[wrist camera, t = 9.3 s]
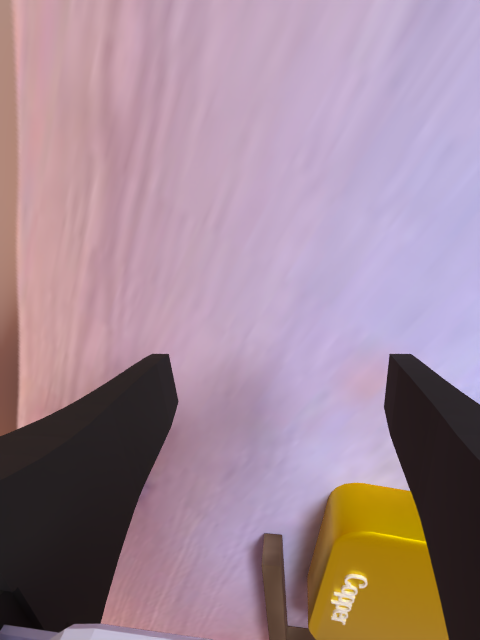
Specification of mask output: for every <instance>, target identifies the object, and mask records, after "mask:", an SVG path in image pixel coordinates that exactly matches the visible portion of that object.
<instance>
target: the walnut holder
mask: <svg viewBox="0 0 480 640" xmlns="http://www.w3.org/2000/svg"><path fill="white" fill-rule="evenodd" d="M262 573H263V583H264V592H265V602H266V611H267V621H268V631H269V640H316V639H315V638H314V637H313V635H312V634H311V633H310V631H309V629H306V628H298V627H290V626H287V609H286V592H285V575H284V559H283V542H282V535H276V534H265V533H264V543H263V554H262Z"/></svg>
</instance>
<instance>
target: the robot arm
mask: <svg viewBox="0 0 480 640" xmlns="http://www.w3.org/2000/svg"><path fill="white" fill-rule="evenodd" d="M177 405H178V398H177V393H176V388H175V383H174V378H173V373H172V368H171V363H170V358H169V354H151V355H149V356H147V357H146V358H144V359H142V360H141V361H139V362H137V363H136V364H134V365H133V366H131V367H130V368H128V369H127V370H125V371H124V372H122V373H121V374H119V375H118V376H116V377H115V378H113V379H112V380H110V381H109V382H107V383H106V384H104V385H102V386H101V387H99V388H97V389H96V390H94V391H92V392H91V393H89V394H87V395H86V396H84V397H83V398H81V399H79V400H77V401H76V402H74V403H72V404H70V405H68V406H67V407H65V408H63V409H61V410H59V411H57V412H55V413H53V414H51V415H49V416H47V417H45V418H43V419H40V420H38V421H36V422H33V423H31V424H29V425H26V426H24V427H22V428H20V429H17V430H15V431H13V432H10V433H8V434H6V435H3V436H0V640H212V639H205V638H198V637H191V636H184V635H177V634H170V633H163V632H156V631H149V630H142V629H135V628H128V627H120V626H113V625H106V624H100V623H101V619H102V616H103V612H104V608H105V604H106V600H107V597H108V593H109V590H110V586H111V583H112V580H113V576H114V573H115V569H116V566H117V562H118V559H119V556H120V553H121V550H122V546H123V543H124V540H125V537H126V534H127V531H128V528H129V525H130V522H131V519H132V516H133V513H134V510H135V507H136V504H137V502H138V499H139V496H140V494H141V491H142V489H143V487H144V484H145V482H146V480H147V478H148V476H149V474H150V471H151V469H152V467H153V465H154V463H155V461H156V459H157V456H158V454H159V452H160V450H161V448H162V446H163V443H164V441H165V439H166V437H167V435H168V432H169V430H170V428H171V425H172V422H173V419H174V416H175V412H176V408H177ZM384 409H385V414H386V418H387V423H388V428H389V432H390V436H391V439H392V442H393V444H394V447H395V450H396V453H397V456H398V458H399V461H400V464H401V466H402V469H403V472H404V474H405V477H406V480H407V483H408V485H409V488H410V491H411V493H412V496H413V499H414V502H415V504H416V508H417V511H418V514H419V517H420V520H421V524H422V528H423V532H424V536H425V540H426V544H427V547H428V551H429V555H430V559H431V563H432V568H433V572H434V576H435V580H436V584H437V588H438V593H439V597H440V601H441V606H442V610H443V615H444V619H445V624H446V628H447V633H448V637H449V640H480V404H478V403H477V402H475V401H474V400H472V399H471V398H469V397H468V396H466V395H465V394H464V393H462V392H461V391H459V390H458V389H457V388H455V387H454V386H453V385H451V384H450V383H448V382H447V381H446V380H444V379H443V378H442V377H441V376H439V375H438V374H437V373H435V372H434V371H433V370H431V369H430V368H429V367H428V366H426V365H425V364H424V363H422V362H421V361H420V360H418V359H417V358H416V357H414V356H413V355H411V354H390V356H389V365H388V375H387V384H386V393H385V403H384Z"/></svg>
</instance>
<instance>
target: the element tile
mask: <svg viewBox="0 0 480 640" xmlns="http://www.w3.org/2000/svg"><path fill="white" fill-rule="evenodd" d="M307 587H308V628H309V631H310V633H311V634H312V635H313V637H314V638H315V639H316V640H449V637H448V633H447V628H446V624H445V619H444V615H443V610H442V606H441V601H440V597H439V593H438V588H437V584H436V580H435V576H434V572H433V568H432V563H431V559H430V555H429V551H428V547H427V544H426V540H425V536H424V532H423V528H422V524H421V520H420V517H419V514H418V511H417V508H416V504H415V502H414V499H413V496H412V493H411V491H406V490H401V489H395V488H389V487H383V486H377V485H371V484H365V483H349V484H344V485H341V486H339V487H337V488H336V489H335V490H334V491H333V492H331V494H330V496H329V498H328V501H327V505H326V509H325V513H324V516H323V520H322V524H321V527H320V531H319V535H318V539H317V542H316V546H315V550H314V553H313V557H312V561H311V565H310V568H309V572H308V576H307Z"/></svg>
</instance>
